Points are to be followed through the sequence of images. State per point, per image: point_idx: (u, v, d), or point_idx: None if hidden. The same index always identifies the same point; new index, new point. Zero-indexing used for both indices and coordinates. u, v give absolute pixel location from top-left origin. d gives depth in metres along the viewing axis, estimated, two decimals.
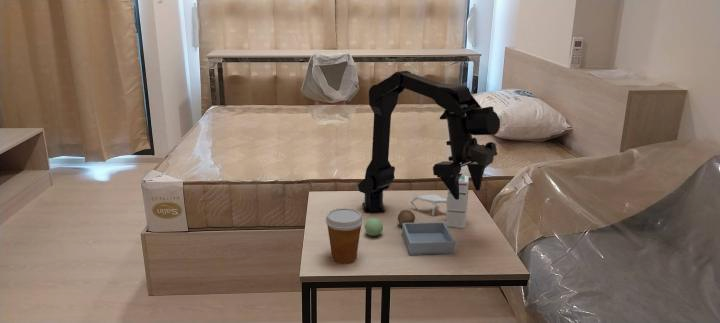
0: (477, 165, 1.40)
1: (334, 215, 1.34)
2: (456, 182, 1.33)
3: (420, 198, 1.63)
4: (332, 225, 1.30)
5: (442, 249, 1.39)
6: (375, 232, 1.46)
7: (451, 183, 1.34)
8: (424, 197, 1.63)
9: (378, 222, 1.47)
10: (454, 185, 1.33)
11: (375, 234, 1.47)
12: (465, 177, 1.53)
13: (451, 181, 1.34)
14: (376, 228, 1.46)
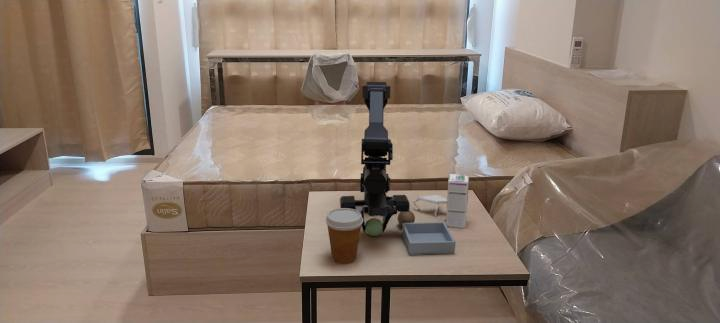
0: None
1: (334, 215, 1.34)
2: None
3: (423, 199, 1.63)
4: (332, 225, 1.30)
5: (442, 249, 1.39)
6: (375, 232, 1.46)
7: None
8: (427, 198, 1.63)
9: (378, 222, 1.47)
10: None
11: (375, 234, 1.47)
12: (465, 177, 1.53)
13: None
14: (376, 228, 1.46)
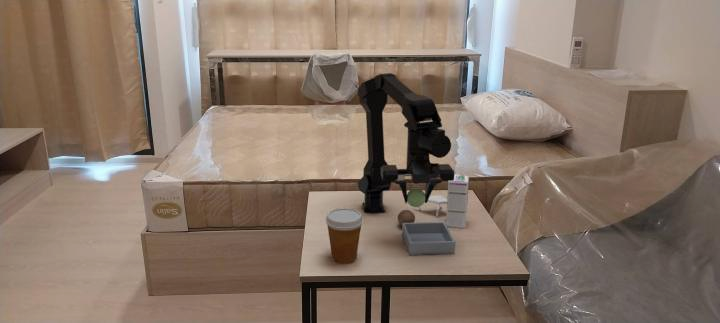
0: None
1: (334, 215, 1.34)
2: (402, 188, 1.40)
3: None
4: (332, 225, 1.30)
5: (442, 249, 1.39)
6: (417, 202, 1.40)
7: None
8: None
9: (421, 192, 1.41)
10: None
11: (418, 205, 1.41)
12: (465, 177, 1.53)
13: None
14: (419, 198, 1.40)
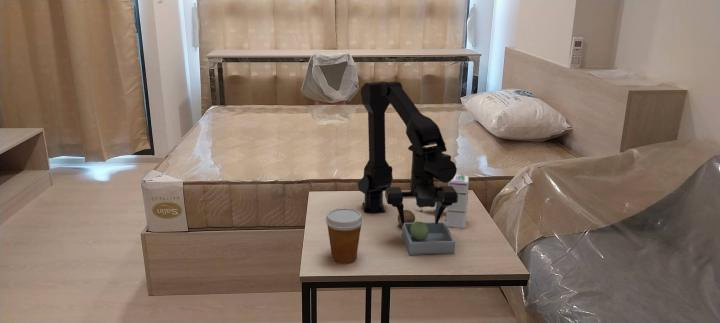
0: (439, 201, 1.43)
1: (334, 215, 1.34)
2: (399, 210, 1.42)
3: None
4: (332, 225, 1.30)
5: (442, 249, 1.39)
6: (421, 236, 1.43)
7: None
8: None
9: (424, 226, 1.44)
10: None
11: (421, 238, 1.44)
12: (465, 177, 1.53)
13: None
14: (422, 232, 1.43)
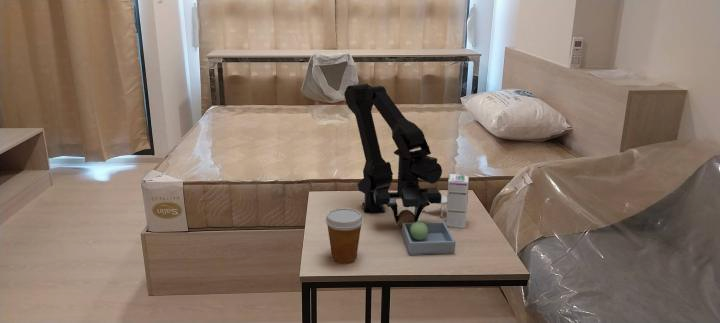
0: None
1: (334, 215, 1.34)
2: (394, 210, 1.51)
3: None
4: (332, 225, 1.30)
5: (442, 249, 1.39)
6: (421, 236, 1.43)
7: None
8: None
9: (423, 226, 1.44)
10: (393, 211, 1.52)
11: (421, 238, 1.44)
12: (465, 177, 1.53)
13: None
14: (422, 232, 1.43)
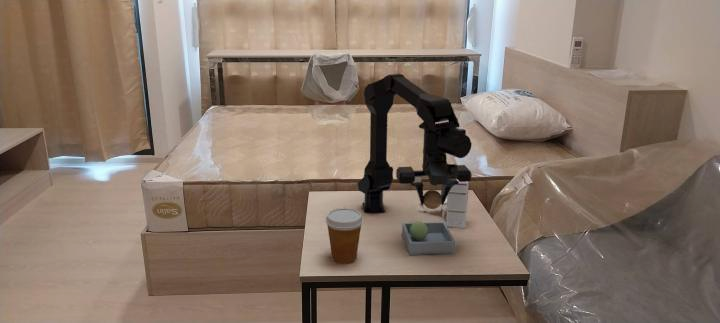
0: None
1: (334, 215, 1.34)
2: (419, 190, 1.38)
3: None
4: (332, 225, 1.30)
5: (442, 249, 1.39)
6: (420, 236, 1.43)
7: None
8: None
9: (423, 226, 1.44)
10: (418, 192, 1.38)
11: (421, 238, 1.44)
12: None
13: None
14: (422, 232, 1.43)
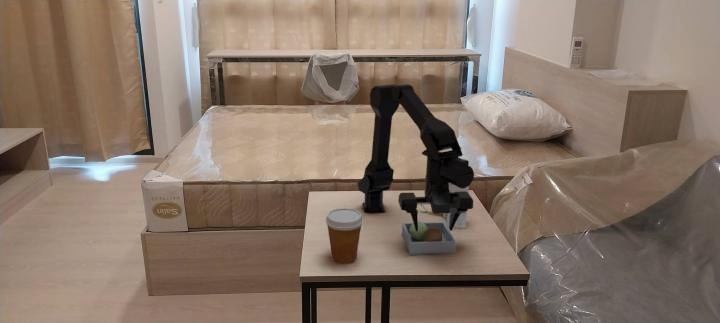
0: (454, 207, 1.39)
1: (334, 215, 1.34)
2: (413, 216, 1.38)
3: None
4: (332, 225, 1.30)
5: (442, 249, 1.39)
6: (420, 236, 1.43)
7: None
8: None
9: (423, 226, 1.44)
10: (412, 218, 1.39)
11: (421, 238, 1.44)
12: None
13: None
14: (422, 232, 1.43)
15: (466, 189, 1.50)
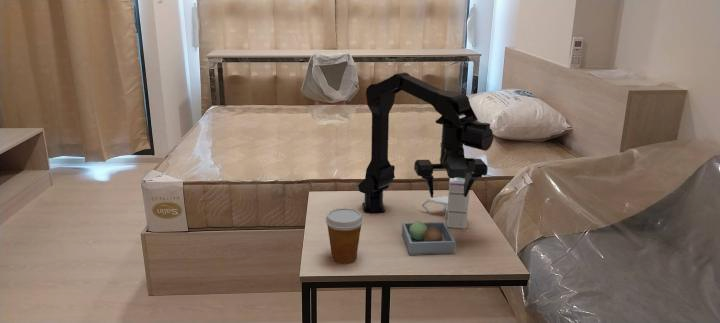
0: (469, 174, 1.43)
1: (334, 215, 1.34)
2: (429, 182, 1.42)
3: (432, 201, 1.61)
4: (332, 225, 1.30)
5: (442, 249, 1.39)
6: (420, 236, 1.43)
7: None
8: (436, 199, 1.62)
9: (423, 226, 1.44)
10: (428, 184, 1.43)
11: (421, 238, 1.44)
12: None
13: None
14: (422, 232, 1.43)
15: None
